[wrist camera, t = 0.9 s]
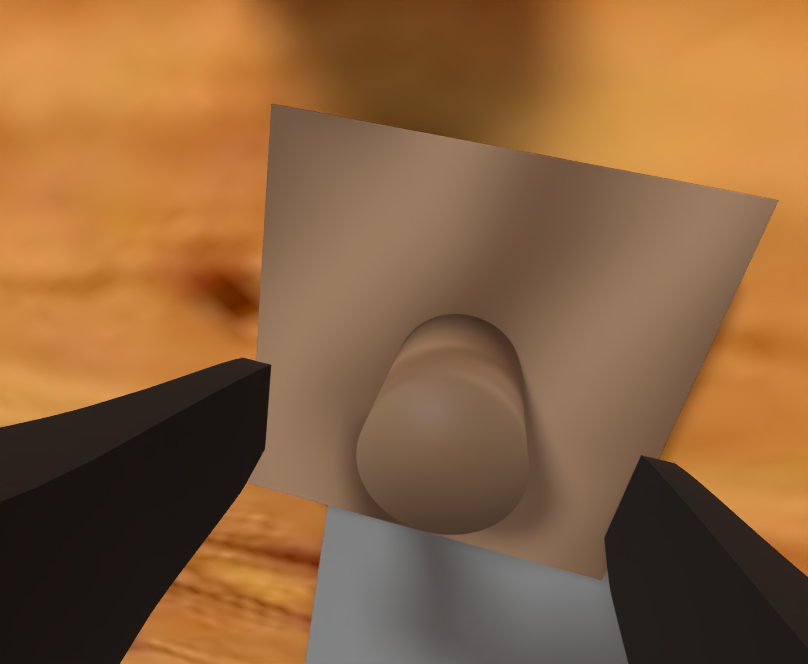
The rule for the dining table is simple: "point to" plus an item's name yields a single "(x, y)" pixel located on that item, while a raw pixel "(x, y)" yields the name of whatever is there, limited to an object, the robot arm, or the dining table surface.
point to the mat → (450, 603)
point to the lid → (481, 329)
